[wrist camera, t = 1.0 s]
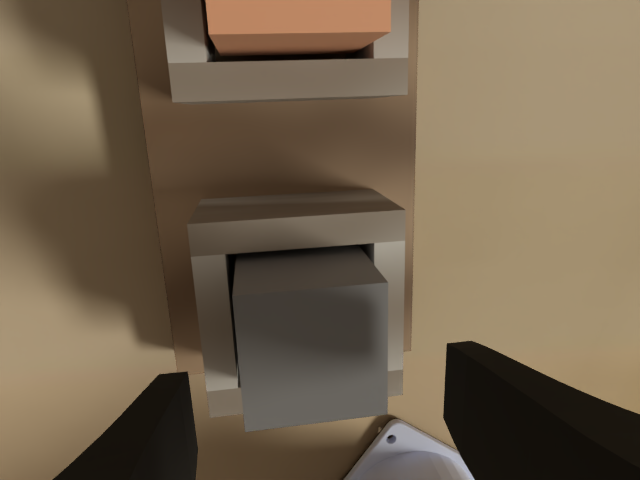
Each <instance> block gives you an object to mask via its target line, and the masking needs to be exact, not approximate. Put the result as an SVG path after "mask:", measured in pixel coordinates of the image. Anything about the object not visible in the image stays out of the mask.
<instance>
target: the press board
mask: <svg viewBox="0 0 640 480" xmlns="http://www.w3.org/2000/svg"><path fill="white" fill-rule="evenodd" d="M127 6H128V14H129V21H130V28H131V36H132V43H133V50H134V58H135V65H136V72H137V80H138V87H139V94H140V102H141V109H142V116H143V124H144V131H145V138H146V146H147V153H148V160H149V168H150V175H151V182H152V190H153V197H154V204H155V212H156V219H157V226H158V234H159V241H160V248H161V256H162V263H163V270H164V278H165V285H166V292H167V300H168V307H169V315H170V322H171V329H172V337H173V344H174V351H175V359H176V366H177V372H186V371H188V375H190V374H200V373H205V381H206V390H207V398H208V407H209V415H210V418H213V417H222V416H230V415H238V414H243V405H242V394H241V383H240V373H239V362H238V352H237V341H236V330H235V320H234V309H233V298H232V294H233V284H234V274H235V264H236V254H237V253H249V252H263V251H276V250H289V249H303V248H316V247H329V246H342V245H356V244H358V245H359V247H360V248H361V249H362V250H363V252H364V253H365V254H366V255H367V256H368V258H369V259H370V260H371V261H372V263H373V264H374V265H375V266H376V268H377V269H378V270H379V271H380V273H381V274H382V275H383V276H384V278H385V279H386V280H387V281H388V397H389V396H397V395H403V352H405V351H411V332H412V286H413V240H414V194H415V149H416V103H417V57H418V11H419V0H391V32H390V33H388V34H386V35H384V36H383V37H381V38H379V39H377V40H376V41H374V42H372V43H370V44H368V45H367V46H365V47H363V48H361V49H360V50H358V51H356V52H354V53H343V54H295V55H247V56H220V54H219V52H218V50H217V49H216V47H215V45H214V43H213V41H212V39H211V38H210V36H209V32H208V21H207V11H206V0H127Z"/></svg>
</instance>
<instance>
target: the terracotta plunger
mask: <svg viewBox="0 0 640 480" xmlns="http://www.w3.org/2000/svg"><path fill="white" fill-rule="evenodd" d="M206 11H207V21H208V32H209V36H210V38H211V39H212V41H213V43H214V45H215V47H216V49H217V50H218V52H219V54H220V56H247V55H295V54H343V53H354V52H356V51H358V50H360V49H361V48H363V47H365V46H367V45H368V44H370V43H372V42H374V41H376V40H377V39H379V38H381V37H383V36H384V35H386V34H388V33H390V32H391V0H206Z"/></svg>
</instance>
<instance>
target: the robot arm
mask: <svg viewBox="0 0 640 480" xmlns="http://www.w3.org/2000/svg"><path fill="white" fill-rule="evenodd" d="M443 418H444V420H445V423H446V425H447V427H448V429H449V432H450V434H451V436H452V439H453V441H454V443H455V445H456V447H457V449H458V451H457V450H455V449H453V448H452V447H450V446H448V445H446V444H444V443H442V442H441V441H439V440H437V439H435V438H433V437H431V436H430V435H428V434H426V433H424V432H422V431H420V430H418V429H417V428H415V427H413V426H411V425H409V424H407V423H406V422H404V421H402V420H399V419H393V420H391V421H390V422H388V423H387V425H386V426H385V427H384V428H383V430H382V431H381V432H380V434H379V435H378V436H377V437H376V439H375V440H374V441H373V443H372V444H371V445H370V446H369V448H368V449H367V450H366V452H365V453H364V454H363V455H362V457H361V458H360V459H359V461H358V462H357V463H356V464H355V466H354V467H353V468H352V470H351V471H350V472H349V473H348V475H347V476H346V477H345V478H344V480H640V414H637V413H634V412H632V411H629V410H626V409H623V408H621V407H618V406H616V405H613V404H610V403H608V402H605V401H603V400H601V399H598V398H596V397H594V396H591V395H589V394H587V393H584V392H582V391H579V390H577V389H575V388H573V387H570V386H568V385H566V384H564V383H561V382H559V381H557V380H555V379H553V378H551V377H549V376H546V375H544V374H542V373H540V372H538V371H536V370H534V369H532V368H530V367H528V366H526V365H524V364H521V363H519V362H517V361H515V360H513V359H511V358H509V357H507V356H505V355H503V354H501V353H499V352H497V351H494V350H492V349H490V348H488V347H486V346H483V345H481V344H479V343H476V342H473V341H466V342H457V343H447V352H446V373H445V394H444V415H443ZM389 435H393V437H392V438H389V439H388V438H387V437H388V436H389ZM197 454H198V447H197V439H196V431H195V424H194V416H193V408H192V401H191V393H190V385H189V378H188V371H186V372H177V373H168V374H159V375H158V376H157V377H156V378H155V379H154V380H153V381H152V382H151V383H150V385H149V386H148V387H147V388H146V389H145V390H144V391H143V392H142V393H141V394H140V395H139V396H138V397H137V398H136V400H135V401H134V402H133V403H132V404H131V405H130V406H129V407H128V408H127V409H126V410H125V411H124V412H123V413H122V415H121V416H120V417H119V418H118V419H117V420H116V421H115V422H114V423H113V424H112V425H111V426H110V427H109V428H108V429H107V430H106V431H105V432H104V433H103V434H102V435H101V436H100V437H99V438H98V439H97V440H96V441H94V442H93V443H92V444H91V445H90V446H89V447H88V448H87V449H86V450H85V451H84V452H83V453H82V454H81V455H80V456H79V457H77V458H76V459H75V460H74V461H73V462H72V463H71V464H70V465H69V466H68V467H67V468H66V469H64V470H63V471H62V472H61V473H60V474H59V475H58V476H56V477H55V478H54V479H53V480H195V479H196V467H197Z"/></svg>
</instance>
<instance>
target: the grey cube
mask: <svg viewBox="0 0 640 480" xmlns="http://www.w3.org/2000/svg"><path fill="white" fill-rule="evenodd" d="M232 298H233V309H234V320H235V330H236V341H237V352H238V362H239V373H240V383H241V394H242V405H243V415H244V426H245V432H250V431H258V430H266V429H274V428H282V427H290V426H298V425H306V424H314V423H322V422H330V421H338V420H346V419H354V418H362V417H370V416H378V415H386V414H387V406H388V281H387V280H386V279H385V278H384V276H383V275H382V274H381V273H380V271H379V270H378V269H377V268H376V266H375V265H374V264H373V263H372V261H371V260H370V259H369V258H368V256H367V255H366V254H365V253H364V252H363V250H362V249H361V248H360V247H359V245H358V244H356V245H342V246H329V247H316V248H303V249H289V250H276V251H263V252H249V253H237V254H236V264H235V274H234V284H233V294H232Z"/></svg>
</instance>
